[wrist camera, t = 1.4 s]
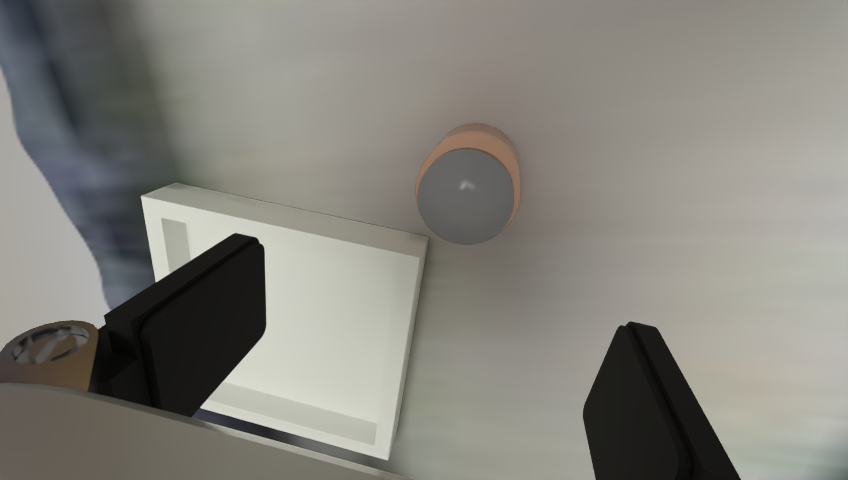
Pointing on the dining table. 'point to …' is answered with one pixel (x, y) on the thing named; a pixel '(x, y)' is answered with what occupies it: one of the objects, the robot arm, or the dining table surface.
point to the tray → (308, 313)
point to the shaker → (470, 185)
